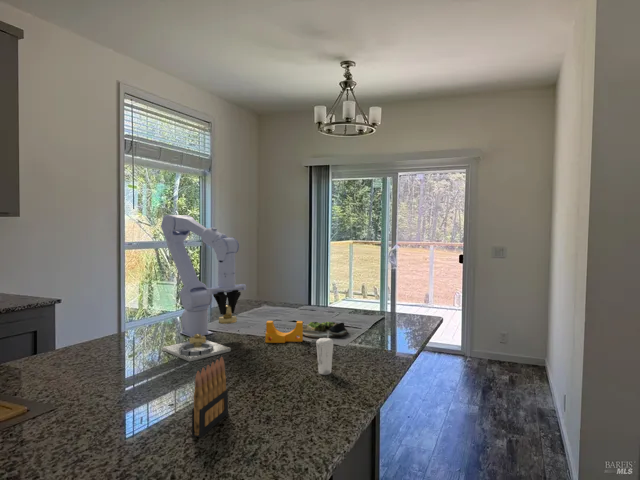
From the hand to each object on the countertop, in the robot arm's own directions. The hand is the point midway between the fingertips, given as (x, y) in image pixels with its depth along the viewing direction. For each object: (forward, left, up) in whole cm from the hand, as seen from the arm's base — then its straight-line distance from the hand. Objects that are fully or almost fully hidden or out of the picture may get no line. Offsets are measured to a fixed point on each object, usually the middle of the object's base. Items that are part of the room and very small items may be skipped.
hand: (227, 313), depth 146 cm
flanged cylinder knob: (0, 0, -3) cm, 3 cm away
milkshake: (+46, -1, -9) cm, 47 cm away
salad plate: (+17, +30, -10) cm, 36 cm away
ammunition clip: (+50, -38, -9) cm, 63 cm away
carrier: (+4, -14, -9) cm, 17 cm away
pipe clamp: (+15, +12, -9) cm, 22 cm away
